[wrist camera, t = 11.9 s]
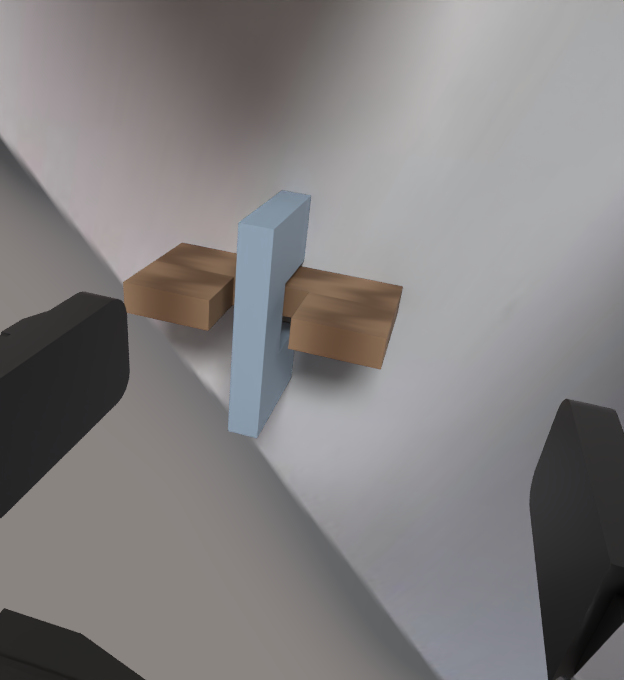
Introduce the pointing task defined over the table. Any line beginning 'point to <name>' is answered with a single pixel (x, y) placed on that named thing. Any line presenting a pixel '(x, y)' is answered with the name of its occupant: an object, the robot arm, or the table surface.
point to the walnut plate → (299, 303)
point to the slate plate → (264, 308)
